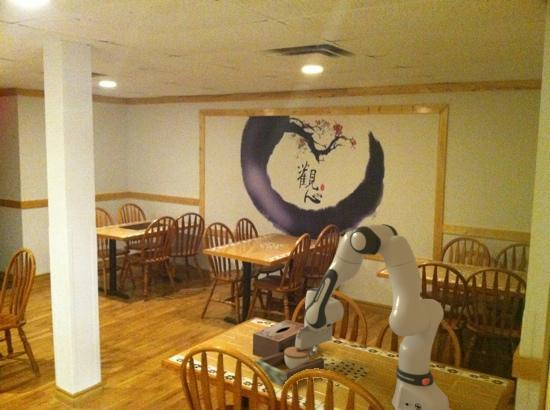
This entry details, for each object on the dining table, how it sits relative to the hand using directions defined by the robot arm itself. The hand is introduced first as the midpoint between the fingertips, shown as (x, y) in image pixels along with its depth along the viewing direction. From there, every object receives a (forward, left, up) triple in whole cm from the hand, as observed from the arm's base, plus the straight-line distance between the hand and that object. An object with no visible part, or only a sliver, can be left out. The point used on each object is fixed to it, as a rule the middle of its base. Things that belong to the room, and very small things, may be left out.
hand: (313, 354), depth 218 cm
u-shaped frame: (0, +13, -4) cm, 14 cm away
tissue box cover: (+18, +1, -4) cm, 19 cm away
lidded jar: (0, +10, -4) cm, 11 cm away
